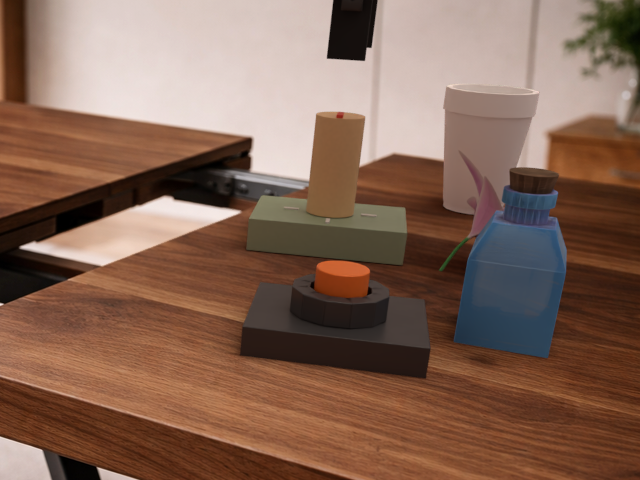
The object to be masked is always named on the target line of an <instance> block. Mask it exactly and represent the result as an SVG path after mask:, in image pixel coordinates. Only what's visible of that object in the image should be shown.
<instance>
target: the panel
mask: <svg viewBox="0 0 640 480" xmlns="http://www.w3.org/2000/svg"><path fill="white" fill-rule="evenodd" d="M306 206H307V198H298V197H289V196H288V197H286V196H276V195H263V194H262V195H260V197H259V199H258V201H257V203H256V205H255V207H254V208H253V210H252V212H251V214H250V215H249V218H248V222H247V223H248V224H247V236H246V248H245V250H246V251H253V252H263V253H272V254H273V253H275V254H283V255H293V256H294V255H295V256H304V257H314V258H324V259H332V260H333V259H334V260H341V261H351V262H362V263H374V264H384V265H394V266H403V265H404V258H405V252H406V246H407V239H408V226H407V225H408V223H407V214H406V207H404V206H403V207H402V206H389V205H378V204H367V203H357V202H355V206H354V214H353V215H352V216H350V217H345V218H328V217H321V216H316V215H313V214H310V213H308V212H307V211H306Z"/></svg>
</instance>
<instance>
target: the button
mask: <svg viewBox="0 0 640 480" xmlns="http://www.w3.org/2000/svg"><path fill="white" fill-rule="evenodd" d="M315 274H316V275H315V284H314V290H315V291H316V292H318V293H322V294H325V295H329V296H334V297H343V298H354V297H364V296H367V292H368V285H369V279H370V276H371V270H370V268H369V267H368V266H366V265H364V264H362V263H358V262H355V261H349V260H325V261H321V262H319V263H317V265H316V268H315Z"/></svg>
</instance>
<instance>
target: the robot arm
mask: <svg viewBox="0 0 640 480" xmlns="http://www.w3.org/2000/svg"><path fill="white" fill-rule="evenodd" d="M378 1H379V0H332V5H331V7H332V8H331V14H330V15H331V16H330V25H329V34H328V42H327V43H328V44H327V51H326V52H327V53H326V60H341V61H355V62H356V61H357V62H365V61H366V59H367V49H372V48H373V41H374V33H375V25H376V19H377V10H378Z"/></svg>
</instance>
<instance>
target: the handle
mask: <svg viewBox="0 0 640 480" xmlns="http://www.w3.org/2000/svg"><path fill="white" fill-rule="evenodd" d="M314 121H315V122H314V131H313V141H312V150H311V159H310V168H309V179H308V189H307V190H308V191H307V197H306V199H307V206H306V211H307V212H308V213H310V214H313V215H316V216H321V217H328V218H345V217H350V216H352V215H353V214H354V206H355V203H356V197H357V189H358V181H359V173H360V165H361V156H362V148H363V142H364V141H363V140H364V132H365V125H366V116H365V115H363V114H360V113H354V112H348V111H347V112H345V111H319V112H317V113H315V120H314Z"/></svg>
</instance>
